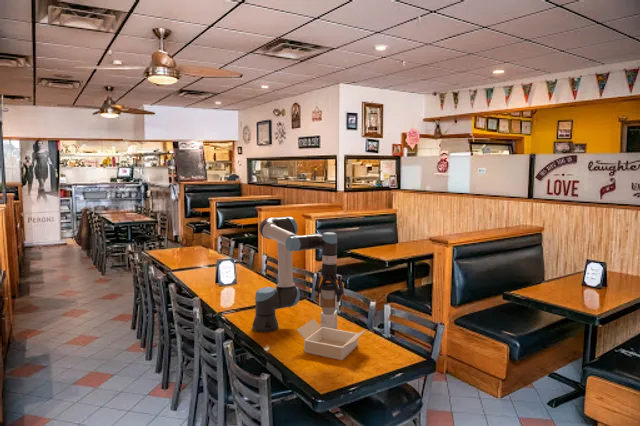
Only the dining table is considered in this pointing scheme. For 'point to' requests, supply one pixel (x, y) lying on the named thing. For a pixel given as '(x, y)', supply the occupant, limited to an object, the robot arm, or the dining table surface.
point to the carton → (330, 343)
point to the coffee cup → (328, 298)
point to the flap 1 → (308, 328)
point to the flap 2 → (355, 338)
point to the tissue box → (329, 320)
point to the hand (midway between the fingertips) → (328, 306)
